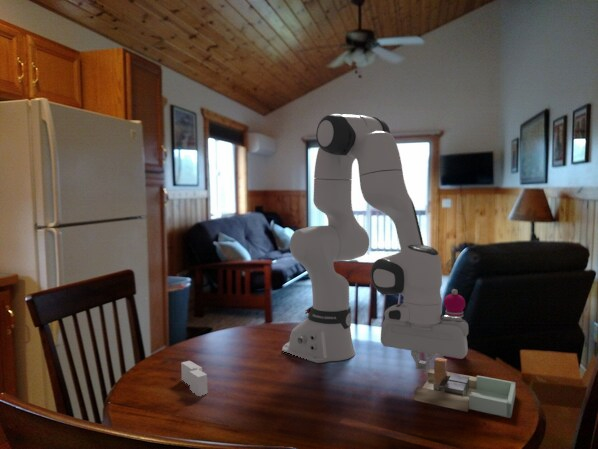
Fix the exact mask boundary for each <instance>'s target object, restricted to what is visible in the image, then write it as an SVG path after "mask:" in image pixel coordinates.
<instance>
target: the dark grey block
mask: <svg viewBox="0 0 598 449" xmlns="http://www.w3.org/2000/svg"><path fill="white" fill-rule="evenodd" d="M457 374H458V373H456V374H452V375H451V376H450V378H449V381H453V382H458V383H464V384H466V395H467V393H468V391H469V377H468V376H469V375H467V376H463V375H464V374H461V375H457Z"/></svg>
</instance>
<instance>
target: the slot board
mask: <svg viewBox="0 0 598 449" xmlns="http://www.w3.org/2000/svg"><path fill="white" fill-rule="evenodd" d="M452 374H457V375H463V376H468V377H469V391H468V393H467V395H466V397H465V396H460V395H455V394H450V393H446V392H444V389H443V391H442V392H441V391H436V390H433V385H434V383H435V381H436V380H437V379H434V368H429V371H427V381H426V382H425V383H424V385H423V386H422V387H421V386H417V387H416V388H415V389H414V391H413V392H414V396H413V397H414V399H413V400H414V401H418V402H421V403H427V404H430V405H435V406H439V407H444V408H449V409H453V410H458V411H461V412H465V413H466V412H467V413H468V411H469V410H470V409H469V394H473V395H474V394H475V392H476V389H477V376H471V375H465V374H460V373H455V372H449V371H447V382H448V381H449V378H450V376H451V375H452Z"/></svg>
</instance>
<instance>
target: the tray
mask: <svg viewBox="0 0 598 449" xmlns="http://www.w3.org/2000/svg"><path fill="white" fill-rule="evenodd" d="M476 377H477V389H476V392H475V394H474V395H473V394H469V409H468V410H473V411H476V412H481V413H486V414H489V415H495V416H499V417H504V418H509V419H512V415H513V409H514V406H515V399H516V387H517V386H516V385H517V384H516V383H517V382H516V381H511V380H510V381H509V380H504V379H499V378H494V377H493V378H492V377H488V376H482V375H476Z"/></svg>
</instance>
